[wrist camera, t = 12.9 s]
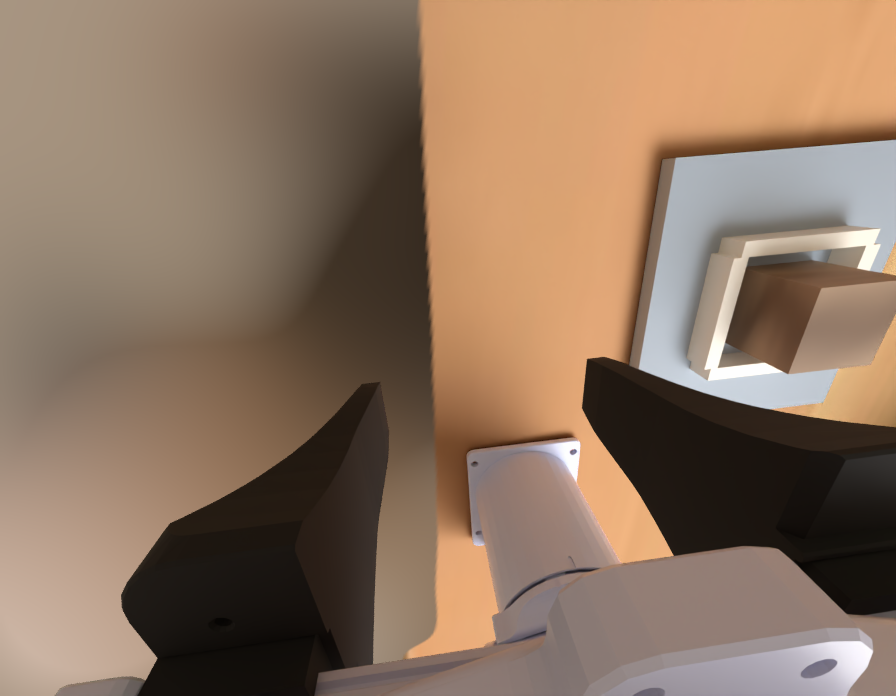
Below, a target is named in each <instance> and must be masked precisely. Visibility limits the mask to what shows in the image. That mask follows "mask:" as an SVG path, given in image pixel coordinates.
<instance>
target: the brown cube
mask: <svg viewBox="0 0 896 696" xmlns="http://www.w3.org/2000/svg"><path fill="white" fill-rule="evenodd" d="M895 314H896V276H895V275H890V274H884V273H879V272H874V271H868V270H863V269H858V268H852V267H847V266H841V265H836V264H831V263H825V262H820V261H814V260H809V261H799V262H788V263H778V264H768V265H758V266H748V267H746V270H745V273H744V277H743V280H742V284H741V287H740V291H739V294H738V298H737V301H736V305H735V308H734V312H733V316H732V319H731V323H730V326H729V330H728V333H727V337H726V340H725V343H726V344H728V345H730V346H732V347H734V348H736V349H738V350H740V351H742V352H744V353H746V354H748V355H750V356H752V357H754V358H756V359H758V360H760V361H762V362H764V363H766V364H768V365H770V366H772V367H774V368H776V369H778V370H780V371H782V372H784V373H786V374H796V373H805V372H813V371H822V370H830V369H839V368H847V367H856V366H865V365H871V363H872V361H873V358H874V356H875V354H876V352H877V350H878V348H879V346H880V344H881V342H882V340H883V338H884V336H885V334H886V332H887V330H888V328H889V326H890V324H891V322H892V320H893V318H894V316H895Z"/></svg>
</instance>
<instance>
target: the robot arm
mask: <svg viewBox="0 0 896 696" xmlns="http://www.w3.org/2000/svg"><path fill="white" fill-rule="evenodd" d="M582 409H583V411H584V413H585V415H586V417H587V419H588V421H589V423H590V425H591V426H592V428H593V430H594V432H595V433H596V435H597V436H598V438H599V439H600V440H601V442H602V443H603V444H604V446H605V447H606V449H607V450H608V451H609V453H610V454H611V455H612V457H613V458H614V460H615V461H616V462H617V464H618V465H619V466H620V468H621V469H622V470H623V472H624V473H625V475H626V476H627V477H628V479H629V480H630V481H631V483H632V484H633V486H634V487H635V489H636V490H637V492H638V493H639V495H640V496H641V498H642V500H643V501H644V503H645V505H646V506H647V508H648V510H649V512H650V513H651V515H652V517H653V518H654V520H655V522H656V524H657V525H658V527H659V529H660V531H661V533H662V535H663V536H664V538H665V540H666V542H667V544H668V546H669V547H670V549H671V551H672V553H673V555H674V556H671V557H664V558H657V559H650V560H643V561H636V562H630V563H623V564H621V562H620V560H619V558H618V557H617V555H616V553H615V551H614V549H613V548H612V546H611V544H610V542H609V540H608V539H607V537H606V535H605V533H604V531H603V530H602V528H601V526H600V524H599V522H598V521H597V519H596V517H595V515H594V513H593V512H592V510H591V508H590V506H589V504H588V503H587V501H586V499H585V497H584V495H583V494H582V492H581V490H580V488H579V486H578V485H577V483H576V482H577V473H578V464H579V455H580V442H579V440H578V439H577V438H574V437H572V438H564V439H556V440H548V441H540V442H532V443H524V444H515V445H507V446H499V447H491V448H483V449H475V450H471V451H469V452H468V453H467V469H468V484H469V499H470V513H471V528H472V540H473V544H475V545H477V546H480V545H485V547H486V552H487V557H488V562H489V567H490V571H491V576H492V581H493V586H494V591H495V596H496V601H497V606H498V611H499V613H498V614H495V615H493V616H492V620H493V626H494V631H495V636H496V641H493V642H489V643H487V644H485V646H484V647H483V648H476V649H470V650H463V651H457V652H450V653H444V654H437V655H431V656H424V657H418V658H412V659H405V660H399V661H392V662H386V663H379V664H373V631H374V628H373V627H374V595H375V571H376V570H375V569H376V549H377V531H378V521H379V513H380V507H381V501H382V494H383V488H384V482H385V475H386V469H387V462H388V448H389V430H388V424H387V418H386V413H385V407H384V402H383V396H382V391H381V385H380V382H378V383H369V384H362V385H361V386H360V387H359V388H358V389H357V390H356V392H354V394H353V395H352V396H351V397H350V398H349V399H348V401H347V402H346V403H345V404H344V405H343V406H342V408H340V410H339V411H338V412H337V413H336V414H335V415H334V416H333V417H332V418H331V419H330V420H329V421H328V422H327V423H326V424H325V425H324V426H323V427H322V428H321V429H320V430H319V431H318V432H317V433H316V434H315V435H314V436H312V437H311V438H310V439H309V440H308V441H307V442H306V443H305V444H303V445H302V446H301V447H299V448H298V449H297V450H296V451H295V452H293V453H292V454H291V455H289V456H288V457H287V458H285V459H284V460H282V461H281V462H280V463H278V464H277V465H275V466H274V467H272V468H271V469H269V470H268V471H266V472H265V473H263V474H262V475H260V476H259V477H257V478H256V479H254V480H252V481H251V482H249V483H247V484H246V485H244V486H243V487H241V488H239V489H237V490H235V491H234V492H232V493H230V494H228V495H226V496H225V497H223V498H221V499H219V500H217V501H215V502H213V503H211V504H209V505H207V506H205V507H203V508H201V509H199V510H197V511H195V512H193V513H191V514H189V515H187V516H185V517H183V518H181V519H179V520H177V521H174V522H172V523H170V524H169V526H168V527H167V528H166V529H165V531H164V532H163V533H162V535H161V536H160V538H159V539H158V541H157V542H156V543H155V545H154V546H153V547H152V549H151V550H150V552H149V553H148V554H147V556H146V557H145V559H144V560H143V561H142V563H141V564H140V565H139V567H138V568H137V570H136V571H135V572H134V574H133V575H132V577H131V578H130V579H129V581H128V582H127V584H126V586H125V588H124V590H123V592H122V594H121V600H122V609H123V612H124V614H125V616H126V617H127V619H128V621H129V623H130V624H131V625H132V627H133V628H134V629H135V630H136V632H137V633H138V634H139V635H140V636H141V638H142V639H143V640H144V642H145V643H146V644H147V645H148V647H149V648H150V649H151V650H152V651H153V653H154V654H155V655H156V657H157V658H158V659H157V661H156V662H155V664H154V666H153V668H152V670H151V672H150V674H149V675H148V678H147V679H146V681H145V680H143V679H141V678H137V677H117V678H110V679H103V680H97V681H90V682H83V683H77V684H71V685H66V686H64V687H62V688H60V689H59V690H58V692H57V693H56V695H55V696H896V427H886V426H877V425H868V424H858V423H849V422H841V421H833V420H827V419H820V418H814V417H807V416H801V415H796V414H790V413H784V412H779V411H775V410H770V409H765V408H760V407H756V406H751V405H747V404H743V403H739V402H735V401H731V400H728V399H724V398H720V397H717V396H713V395H710V394H706V393H703V392H700V391H697V390H694V389H691V388H688V387H685V386H682V385H679V384H676V383H674V382H671V381H668V380H666V379H663V378H660V377H658V376H655V375H652V374H650V373H647V372H645V371H642V370H640V369H637V368H635V367H632V366H630V365H627V364H624V363H622V362H619V361H616V360H613V359H610V358H606V357H600V358H591V359H587V365H586V375H585V384H584V394H583V404H582ZM572 449H574V450H572ZM571 450H572V451H571ZM474 461H476V463H472V462H474Z"/></svg>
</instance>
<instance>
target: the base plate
mask: <svg viewBox="0 0 896 696" xmlns="http://www.w3.org/2000/svg"><path fill="white" fill-rule="evenodd" d="M895 242H896V140H887V141H875V142H863V143H851V144H839V145H827V146H815V147H802V148H790V149H778V150H766V151H754V152H742V153H730V154H717V155H705V156H693V157H681V158H670V159H662V165H661V172H660V178H659V184H658V190H657V196H656V202H655V209H654V215H653V221H652V227H651V233H650V240H649V246H648V252H647V258H646V264H645V270H644V277H643V283H642V289H641V295H640V301H639V307H638V314H637V320H636V326H635V332H634V338H633V344H632V351H631V357H630V363H629V365H630V366H632V367H635V368H637V369H640V370H642V371H645V372H647V373H650V374H652V375H655V376H658V377H660V378H663V379H666V380H668V381H671V382H674V383H676V384H679V385H682V386H685V387H688V388H691V389H694V390H697V391H700V392H703V393H706V394H710V395H713V396H717V397H720V398H724V399H728V400H731V401H735V402H739V403H743V404H747V405H751V406H756V407H760V408H765V409H775V408H783V407H791V406H799V405H807V404H816V403H823V402H824V400H825V397H826V395H827V393H828V391H829V389H830V386H831V384H832V382H833V380H834V377H835V375H836V373H837V371H838V369H830V370H822V371H813V372H805V373H796V374H786V373H784V372H782V371H780V370H778V369H776V368H774V367H772V366H770V365H768V364H766V363H764V362H762V361H760V360H758V359H756V358H754V357H752V356H750V355H748V354H746V353H744V352H742V351H740V350H738V349H736V348H734V347H732V346H730V345H728V344H726V343H725V340H726V337H727V333H728V330H729V326H730V323H731V319H732V316H733V312H734V308H735V305H736V301H737V298H738V294H739V291H740V287H741V284H742V280H743V277H744V273H745V270H746V267H748V266H758V265H768V264H778V263H788V262H799V261H809V260H814V261H820V262H825V263H831V264H836V265H841V266H847V267H852V268H858V269H863V270H868V271H874V272H879V273H882V271H883V268H884V266H885V264H886V262H887V260H888V257H889V255H890V253H891V251H892V248H893V246H894V244H895Z"/></svg>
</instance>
